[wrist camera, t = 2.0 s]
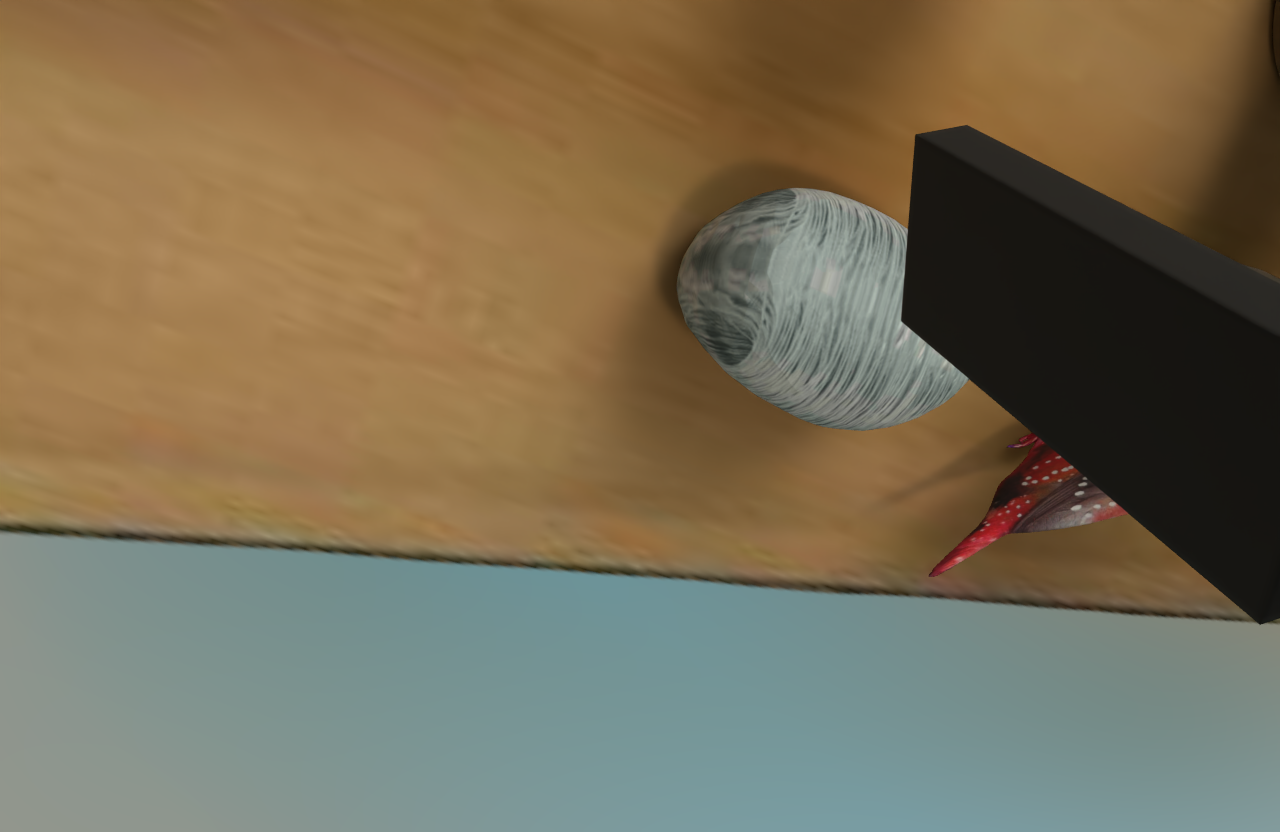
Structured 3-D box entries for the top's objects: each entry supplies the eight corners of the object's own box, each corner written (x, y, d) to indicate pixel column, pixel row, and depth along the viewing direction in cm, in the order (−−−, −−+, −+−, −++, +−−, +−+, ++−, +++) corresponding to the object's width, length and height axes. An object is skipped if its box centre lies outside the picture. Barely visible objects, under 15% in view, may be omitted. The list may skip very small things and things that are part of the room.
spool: (611, 359, 44) (808, 393, 37) (676, 142, 45) (882, 135, 38) (794, 437, 54) (977, 476, 47) (845, 258, 54) (1033, 270, 47)
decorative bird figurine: (1148, 398, 61) (1289, 497, 53) (872, 524, 59) (975, 648, 51) (1149, 357, 59) (1295, 453, 51) (864, 486, 57) (970, 608, 49)
